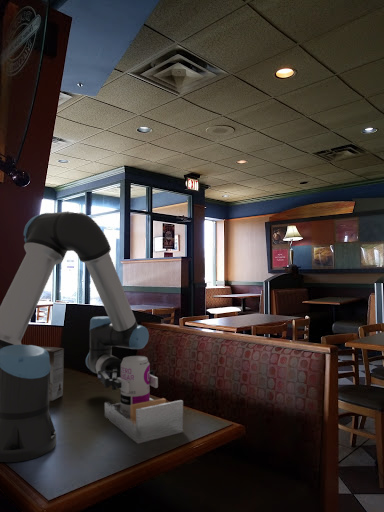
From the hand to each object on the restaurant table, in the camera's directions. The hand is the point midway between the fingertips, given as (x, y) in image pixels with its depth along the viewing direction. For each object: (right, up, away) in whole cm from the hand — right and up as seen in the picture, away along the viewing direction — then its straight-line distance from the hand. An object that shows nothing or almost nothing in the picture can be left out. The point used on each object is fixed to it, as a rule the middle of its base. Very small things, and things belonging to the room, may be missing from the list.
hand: (142, 385), depth 110 cm
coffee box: (-35, -12, +23) cm, 44 cm away
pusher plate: (+2, -9, -4) cm, 10 cm away
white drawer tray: (0, -10, 0) cm, 11 cm away
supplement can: (-3, -9, +4) cm, 10 cm away
